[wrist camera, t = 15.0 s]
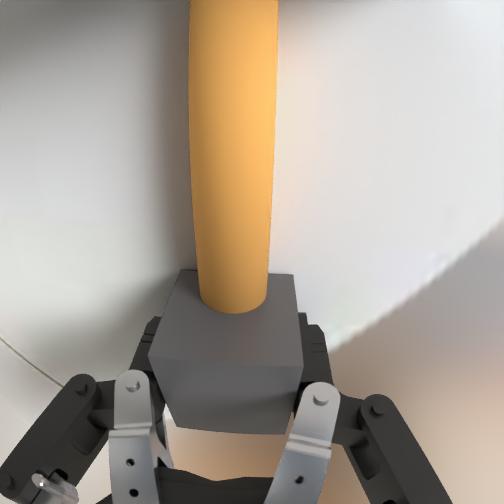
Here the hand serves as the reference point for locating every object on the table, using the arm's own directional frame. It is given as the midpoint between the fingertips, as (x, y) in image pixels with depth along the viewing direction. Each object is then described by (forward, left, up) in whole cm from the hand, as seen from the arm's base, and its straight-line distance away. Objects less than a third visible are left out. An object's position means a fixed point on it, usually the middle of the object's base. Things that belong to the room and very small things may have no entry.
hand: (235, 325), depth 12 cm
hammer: (0, +6, -1) cm, 6 cm away
